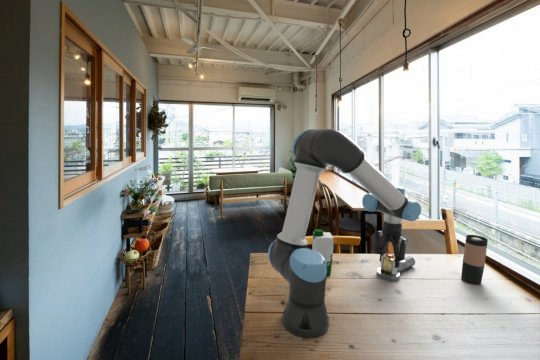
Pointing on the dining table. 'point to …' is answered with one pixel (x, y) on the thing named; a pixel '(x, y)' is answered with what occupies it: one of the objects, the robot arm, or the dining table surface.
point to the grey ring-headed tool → (402, 266)
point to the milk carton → (324, 247)
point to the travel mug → (474, 259)
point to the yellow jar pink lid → (388, 264)
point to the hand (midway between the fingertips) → (388, 271)
